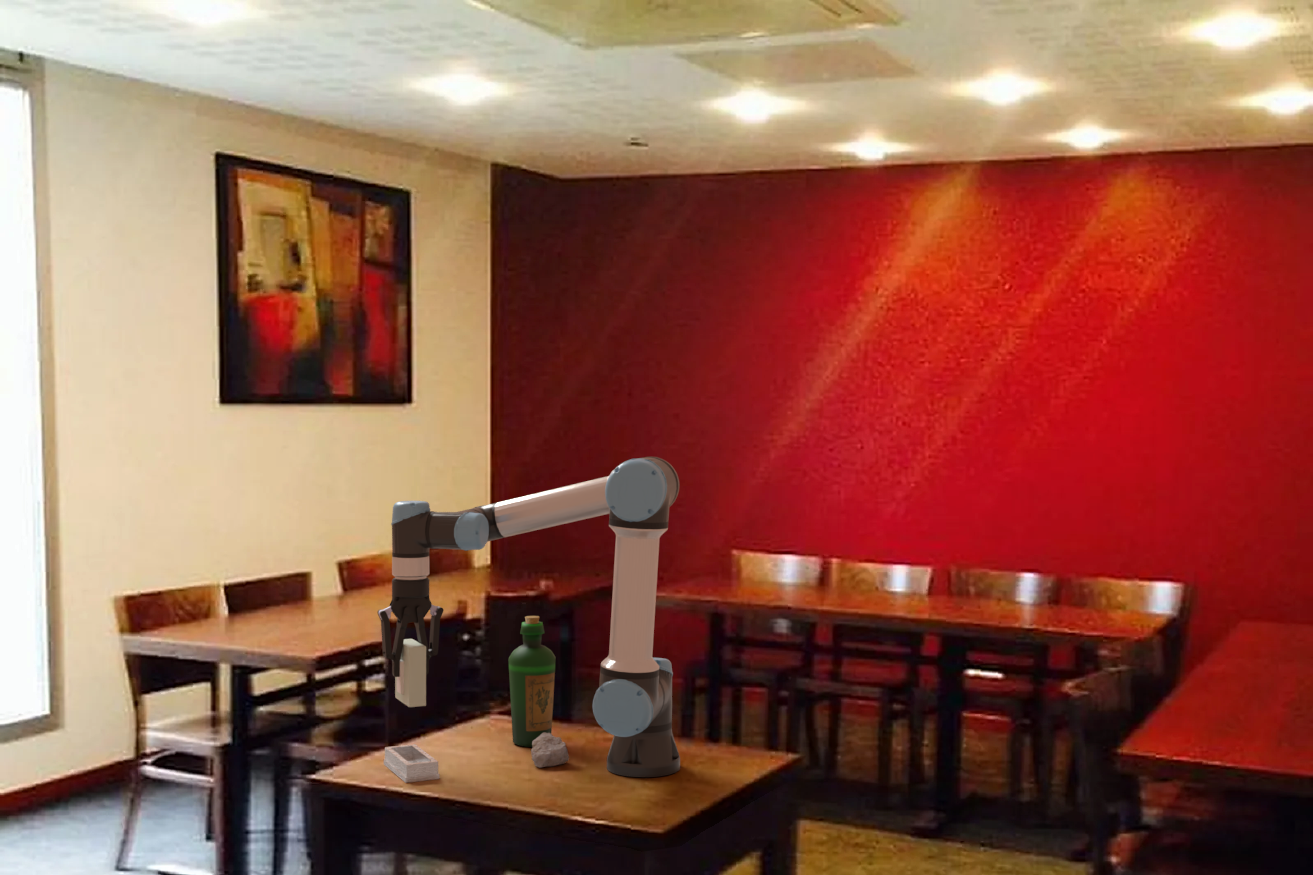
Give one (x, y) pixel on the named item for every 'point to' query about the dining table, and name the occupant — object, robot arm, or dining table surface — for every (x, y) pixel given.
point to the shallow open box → (411, 763)
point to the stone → (548, 751)
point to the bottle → (531, 684)
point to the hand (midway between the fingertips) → (410, 691)
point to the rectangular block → (413, 674)
